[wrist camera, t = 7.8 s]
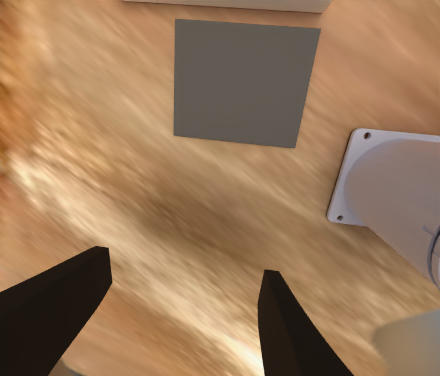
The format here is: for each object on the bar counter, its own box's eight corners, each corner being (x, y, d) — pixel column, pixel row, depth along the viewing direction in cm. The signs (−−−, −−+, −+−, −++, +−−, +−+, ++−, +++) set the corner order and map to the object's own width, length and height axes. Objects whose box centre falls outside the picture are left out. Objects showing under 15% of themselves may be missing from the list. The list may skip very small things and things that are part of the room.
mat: (318, 31, 14) (320, 28, 14) (293, 147, 17) (295, 148, 16) (176, 21, 15) (175, 18, 14) (175, 134, 17) (173, 135, 17)
